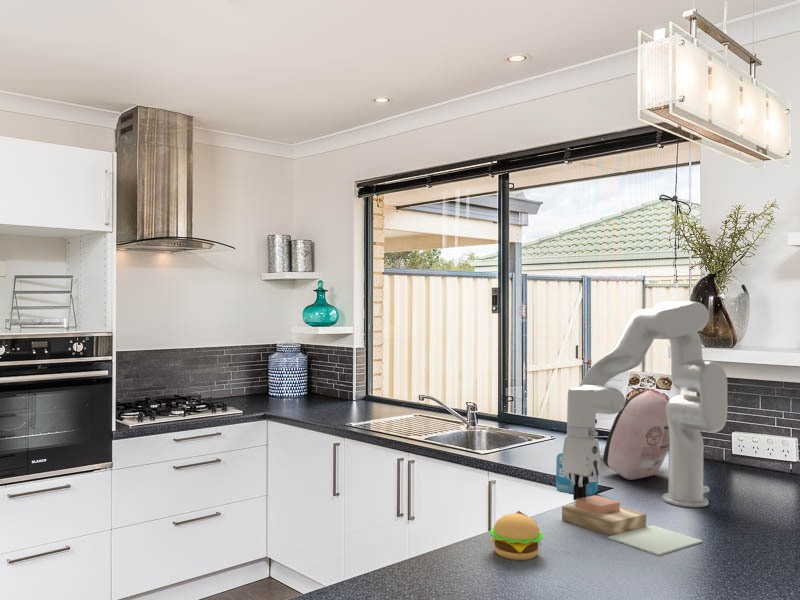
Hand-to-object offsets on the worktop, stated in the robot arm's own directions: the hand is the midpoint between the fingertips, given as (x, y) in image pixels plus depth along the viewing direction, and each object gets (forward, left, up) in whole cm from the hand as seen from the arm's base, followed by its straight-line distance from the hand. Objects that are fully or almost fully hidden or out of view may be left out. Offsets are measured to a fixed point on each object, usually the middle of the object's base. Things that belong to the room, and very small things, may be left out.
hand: (579, 499), depth 187 cm
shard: (+19, -5, -5) cm, 20 cm away
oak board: (0, +8, -4) cm, 9 cm away
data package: (-19, -17, -4) cm, 26 cm away
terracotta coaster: (0, +6, -1) cm, 6 cm away
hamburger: (+36, +12, -5) cm, 38 cm away
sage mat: (0, +23, -4) cm, 24 cm away
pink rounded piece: (-53, -19, -4) cm, 56 cm away
